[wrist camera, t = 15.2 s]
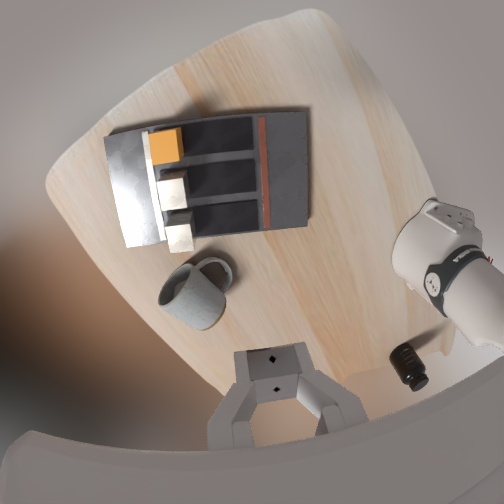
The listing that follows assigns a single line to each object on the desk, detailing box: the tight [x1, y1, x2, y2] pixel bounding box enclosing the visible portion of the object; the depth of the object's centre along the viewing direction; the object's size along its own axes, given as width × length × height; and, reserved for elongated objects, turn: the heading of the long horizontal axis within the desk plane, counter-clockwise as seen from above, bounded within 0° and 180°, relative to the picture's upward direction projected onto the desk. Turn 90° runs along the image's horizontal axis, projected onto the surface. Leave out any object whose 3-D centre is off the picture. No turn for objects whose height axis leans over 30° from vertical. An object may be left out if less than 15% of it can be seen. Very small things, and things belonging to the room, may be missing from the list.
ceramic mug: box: [158, 257, 232, 331], centre depth 40 cm, size 11×8×8 cm
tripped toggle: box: [148, 127, 184, 165], centre depth 29 cm, size 3×4×4 cm
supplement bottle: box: [390, 344, 429, 392], centre depth 56 cm, size 7×7×12 cm
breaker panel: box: [104, 112, 308, 253], centre depth 33 cm, size 26×16×6 cm, turn 94°
